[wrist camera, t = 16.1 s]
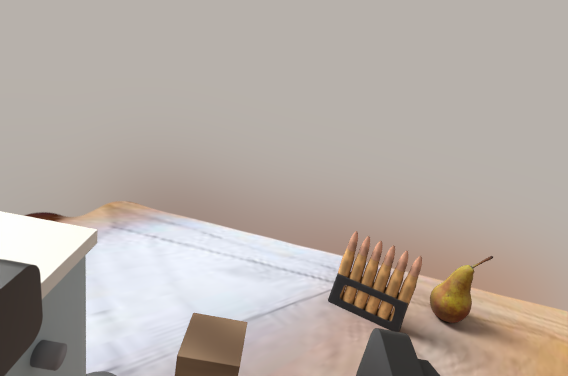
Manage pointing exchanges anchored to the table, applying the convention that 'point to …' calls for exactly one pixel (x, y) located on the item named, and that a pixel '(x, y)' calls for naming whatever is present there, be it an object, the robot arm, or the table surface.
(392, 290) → the ammunition clip
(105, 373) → the steel puck
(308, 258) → the table surface
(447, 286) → the fruit
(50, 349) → the cabinet
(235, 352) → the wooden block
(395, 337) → the robot arm
